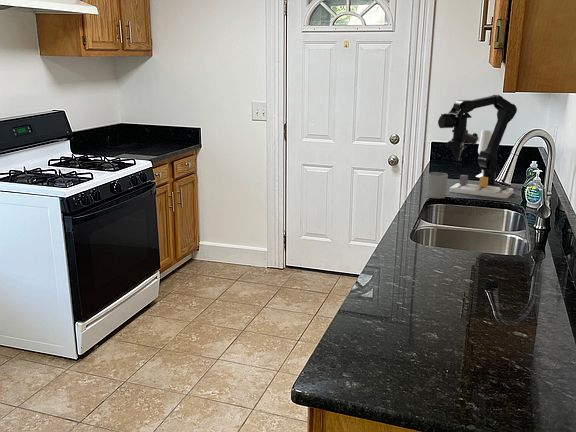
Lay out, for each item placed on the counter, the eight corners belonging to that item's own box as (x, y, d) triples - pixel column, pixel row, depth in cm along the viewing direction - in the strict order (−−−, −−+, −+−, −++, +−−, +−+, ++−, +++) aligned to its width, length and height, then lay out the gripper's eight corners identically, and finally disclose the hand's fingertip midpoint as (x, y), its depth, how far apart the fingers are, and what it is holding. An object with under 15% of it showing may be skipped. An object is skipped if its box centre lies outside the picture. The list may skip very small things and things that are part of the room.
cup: (447, 195, 246) (449, 173, 243) (444, 199, 238) (446, 176, 236) (428, 193, 249) (430, 171, 246) (424, 197, 242) (426, 174, 239)
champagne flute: (491, 177, 285) (495, 131, 278) (478, 177, 285) (482, 130, 279) (486, 175, 291) (491, 129, 285) (474, 175, 291) (478, 129, 285)
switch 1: (461, 183, 260) (461, 174, 259) (467, 183, 258) (468, 175, 257) (459, 184, 257) (460, 175, 256) (465, 184, 256) (466, 176, 254)
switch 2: (501, 187, 250) (501, 178, 249) (508, 188, 248) (508, 179, 247) (499, 188, 248) (500, 179, 247) (506, 189, 246) (507, 180, 245)
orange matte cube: (480, 185, 255) (481, 176, 254) (487, 185, 253) (488, 177, 252) (479, 186, 252) (479, 177, 251) (485, 187, 251) (486, 178, 250)
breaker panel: (457, 186, 263) (458, 182, 262) (513, 193, 250) (513, 188, 249) (449, 191, 252) (449, 187, 252) (506, 198, 239) (507, 193, 239)
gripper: (471, 130, 247) (469, 165, 251) (482, 126, 262) (479, 159, 266) (447, 129, 253) (444, 162, 257) (459, 125, 268) (456, 157, 272)
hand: (457, 160), depth 263 cm, fingers closed
